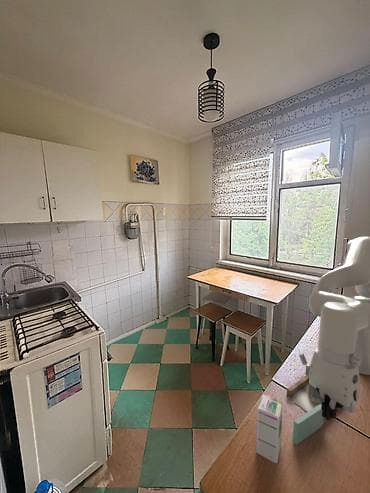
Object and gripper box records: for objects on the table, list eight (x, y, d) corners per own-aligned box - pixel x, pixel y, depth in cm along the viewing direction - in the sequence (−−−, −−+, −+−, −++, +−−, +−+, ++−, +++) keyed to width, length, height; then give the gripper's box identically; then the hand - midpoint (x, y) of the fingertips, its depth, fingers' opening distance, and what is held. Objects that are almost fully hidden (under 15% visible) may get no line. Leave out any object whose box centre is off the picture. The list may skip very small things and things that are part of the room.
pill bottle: (325, 404, 76) (327, 383, 74) (310, 402, 77) (312, 381, 75) (319, 394, 80) (322, 373, 79) (306, 391, 81) (307, 371, 80)
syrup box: (277, 465, 58) (280, 418, 56) (255, 452, 61) (257, 407, 59) (280, 445, 63) (283, 402, 61) (259, 435, 66) (262, 393, 64)
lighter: (317, 377, 89) (319, 359, 88) (316, 379, 88) (318, 361, 86) (298, 368, 94) (300, 351, 93) (297, 370, 92) (299, 353, 91)
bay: (307, 380, 87) (308, 374, 87) (342, 403, 77) (343, 395, 76) (286, 396, 80) (286, 389, 79) (321, 423, 69) (322, 415, 69)
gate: (318, 422, 69) (320, 403, 68) (322, 426, 68) (324, 406, 67) (292, 441, 64) (294, 420, 63) (296, 445, 63) (297, 424, 62)
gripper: (379, 366, 49) (369, 435, 52) (315, 334, 62) (310, 390, 65) (362, 377, 46) (352, 450, 48) (298, 340, 59) (293, 400, 62)
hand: (328, 416), depth 57 cm, fingers closed
